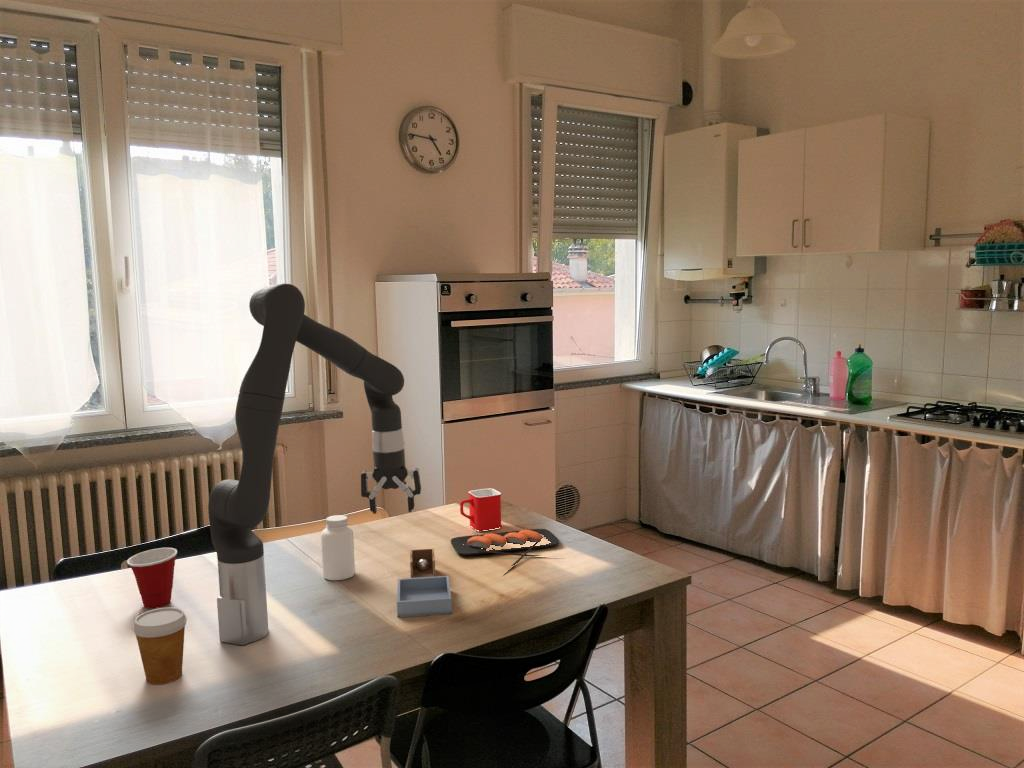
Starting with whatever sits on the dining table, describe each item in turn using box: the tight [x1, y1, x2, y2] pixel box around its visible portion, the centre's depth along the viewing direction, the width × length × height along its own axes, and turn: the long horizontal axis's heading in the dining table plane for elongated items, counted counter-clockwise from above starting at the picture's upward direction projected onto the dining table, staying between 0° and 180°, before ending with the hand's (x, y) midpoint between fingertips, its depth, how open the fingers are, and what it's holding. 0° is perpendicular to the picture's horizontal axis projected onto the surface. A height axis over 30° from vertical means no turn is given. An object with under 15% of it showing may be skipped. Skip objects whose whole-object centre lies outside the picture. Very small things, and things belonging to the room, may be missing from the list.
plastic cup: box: [126, 547, 178, 610], centre depth 190 cm, size 11×11×12 cm
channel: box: [409, 548, 436, 578], centre depth 205 cm, size 9×6×6 cm, turn 7°
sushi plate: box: [450, 528, 560, 566], centre depth 220 cm, size 29×30×4 cm
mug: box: [459, 487, 502, 531], centre depth 242 cm, size 12×8×11 cm
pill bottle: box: [320, 514, 356, 581], centre depth 206 cm, size 8×8×15 cm
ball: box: [417, 559, 429, 571], centre depth 207 cm, size 3×3×3 cm
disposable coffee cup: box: [131, 606, 188, 685], centre depth 155 cm, size 10×10×12 cm
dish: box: [396, 575, 453, 618], centre depth 188 cm, size 14×12×4 cm
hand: (392, 511), depth 199 cm, fingers open, 8 cm apart
